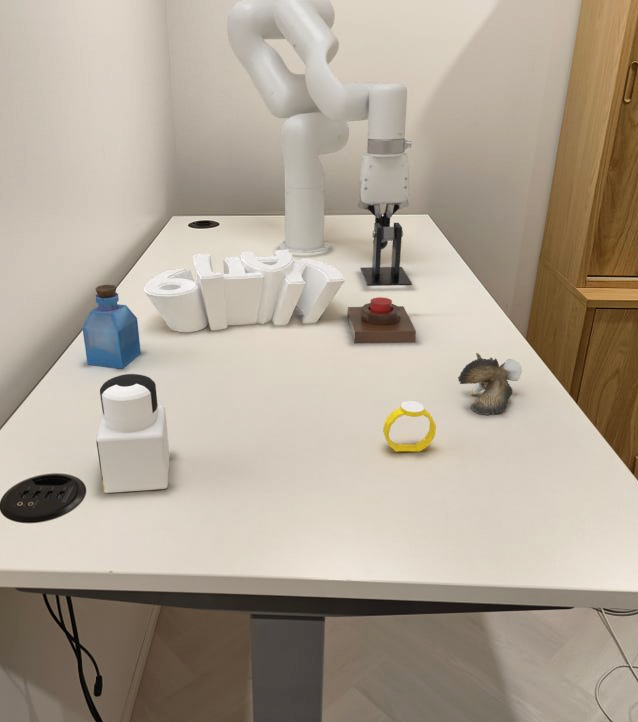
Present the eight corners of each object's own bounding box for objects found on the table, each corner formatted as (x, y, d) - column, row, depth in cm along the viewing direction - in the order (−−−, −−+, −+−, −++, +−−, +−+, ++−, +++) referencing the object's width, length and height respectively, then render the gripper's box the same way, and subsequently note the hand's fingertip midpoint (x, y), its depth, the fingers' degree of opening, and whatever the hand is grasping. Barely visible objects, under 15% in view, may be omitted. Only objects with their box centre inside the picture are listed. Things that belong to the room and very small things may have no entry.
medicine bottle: (110, 459, 82) (98, 369, 77) (169, 455, 82) (161, 366, 77) (103, 494, 75) (89, 398, 70) (167, 489, 76) (158, 394, 71)
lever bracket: (360, 272, 148) (362, 219, 143) (401, 272, 148) (405, 218, 143) (367, 290, 137) (369, 232, 133) (411, 289, 137) (415, 231, 132)
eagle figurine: (457, 372, 98) (443, 387, 91) (491, 337, 95) (479, 348, 87) (498, 408, 97) (487, 426, 89) (534, 373, 93) (526, 389, 86)
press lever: (372, 250, 150) (372, 236, 150) (386, 250, 150) (386, 235, 150) (380, 240, 137) (380, 224, 137) (396, 240, 137) (396, 224, 137)
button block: (347, 318, 123) (348, 297, 121) (402, 317, 123) (404, 296, 121) (354, 343, 112) (355, 321, 110) (415, 343, 112) (416, 320, 110)
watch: (385, 457, 81) (388, 413, 78) (380, 444, 83) (383, 401, 81) (435, 454, 81) (439, 410, 78) (428, 442, 83) (432, 399, 81)
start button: (368, 306, 118) (369, 297, 117) (389, 306, 117) (390, 297, 117) (371, 314, 114) (371, 304, 114) (392, 313, 114) (393, 304, 113)
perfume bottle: (140, 353, 111) (133, 283, 106) (122, 369, 105) (113, 295, 100) (107, 349, 113) (98, 280, 108) (87, 364, 107) (77, 292, 102)
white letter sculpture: (331, 298, 133) (332, 246, 129) (347, 329, 118) (349, 271, 114) (152, 307, 131) (147, 254, 127) (145, 339, 116) (139, 280, 112)
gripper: (418, 144, 143) (413, 230, 151) (347, 146, 144) (346, 232, 151) (425, 148, 137) (419, 238, 144) (351, 150, 137) (349, 240, 144)
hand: (382, 234), depth 148 cm, fingers closed
